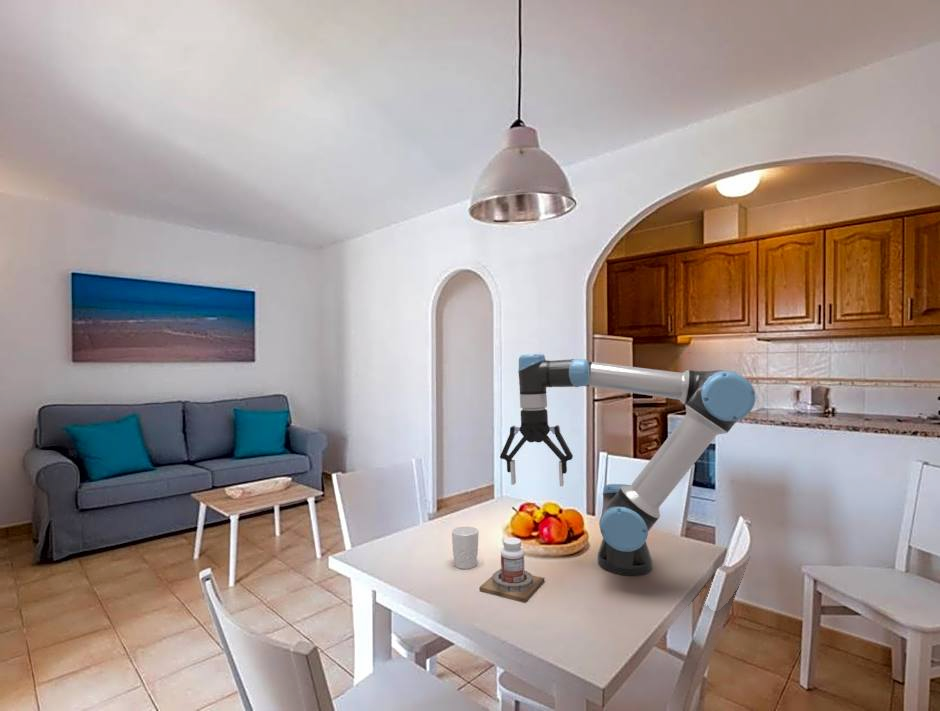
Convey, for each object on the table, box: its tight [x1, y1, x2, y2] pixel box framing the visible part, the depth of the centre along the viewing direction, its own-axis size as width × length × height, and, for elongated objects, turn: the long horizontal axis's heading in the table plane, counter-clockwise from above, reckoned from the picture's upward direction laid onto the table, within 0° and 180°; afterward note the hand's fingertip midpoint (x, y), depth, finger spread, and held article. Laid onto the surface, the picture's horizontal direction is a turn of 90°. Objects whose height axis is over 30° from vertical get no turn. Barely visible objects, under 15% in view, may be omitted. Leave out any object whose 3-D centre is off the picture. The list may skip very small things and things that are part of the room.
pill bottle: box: [500, 537, 525, 583], centre depth 129 cm, size 6×6×11 cm
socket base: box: [478, 568, 546, 603], centre depth 129 cm, size 13×13×2 cm
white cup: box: [451, 525, 479, 570], centre depth 144 cm, size 8×8×10 cm
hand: (537, 484), depth 137 cm, fingers open, 13 cm apart
